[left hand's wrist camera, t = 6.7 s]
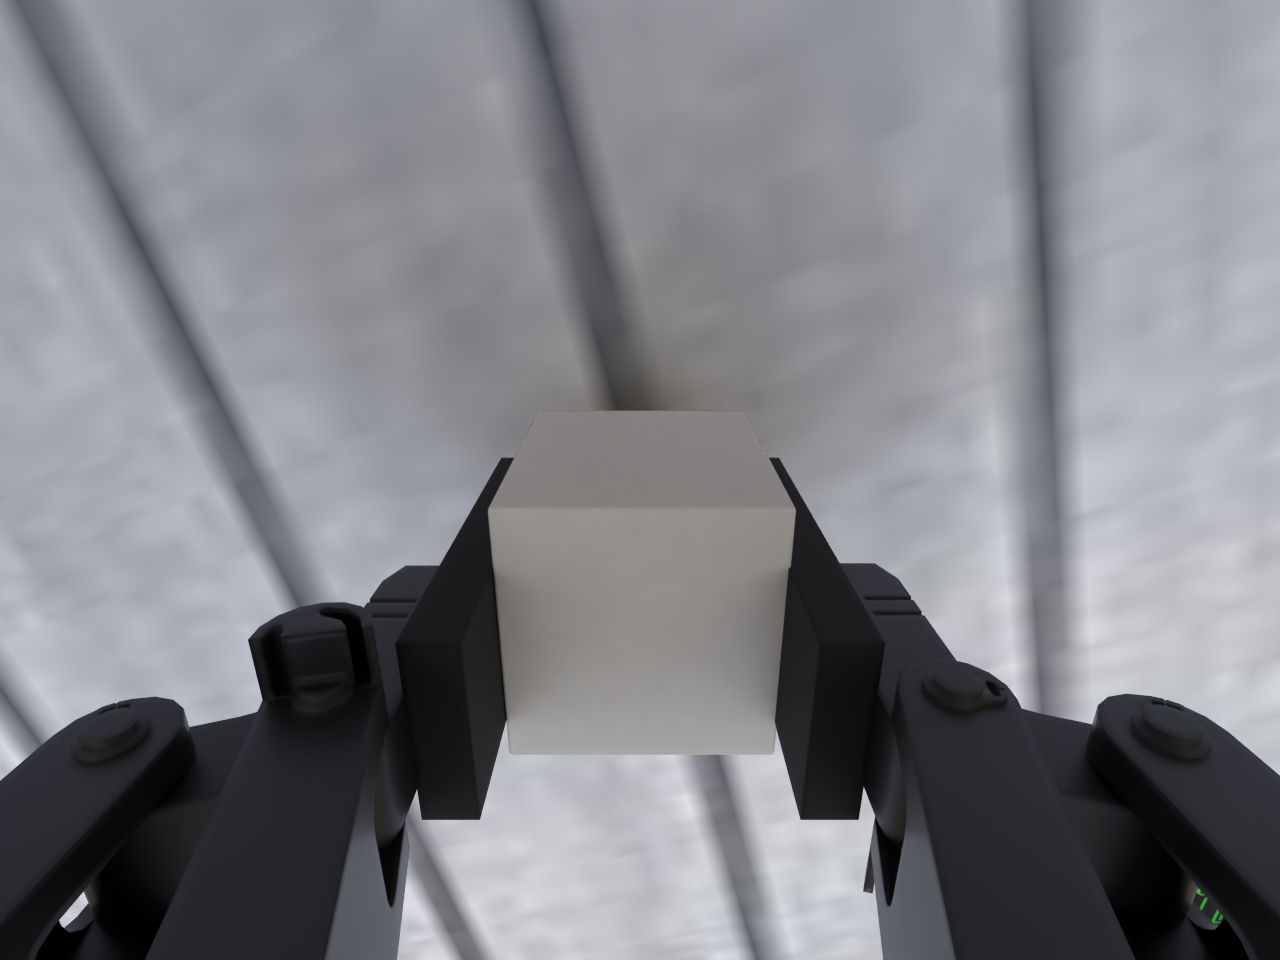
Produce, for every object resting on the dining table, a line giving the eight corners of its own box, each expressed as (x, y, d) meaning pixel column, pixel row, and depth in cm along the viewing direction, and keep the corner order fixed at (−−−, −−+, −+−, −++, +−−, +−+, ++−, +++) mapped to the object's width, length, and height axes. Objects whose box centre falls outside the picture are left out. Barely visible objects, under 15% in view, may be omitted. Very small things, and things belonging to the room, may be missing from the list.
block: (537, 409, 14) (486, 508, 9) (745, 409, 14) (797, 508, 9) (547, 593, 15) (509, 756, 11) (733, 593, 15) (774, 755, 11)
